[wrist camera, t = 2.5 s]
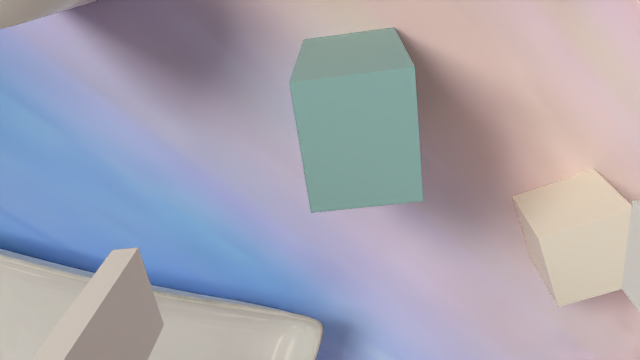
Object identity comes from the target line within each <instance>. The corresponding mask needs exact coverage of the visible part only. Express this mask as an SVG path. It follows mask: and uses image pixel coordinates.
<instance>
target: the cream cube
mask: <svg viewBox="0 0 640 360" xmlns="http://www.w3.org/2000/svg"><path fill="white" fill-rule="evenodd" d="M512 198H513V201H514V204H515V208H516V211H517V214H518V218H519V221H520V224H521V228H522V231H523V234H524V238H525V241H526V244H527V248H528V251H529V254H530V258H531V260H532V262H533V263H534V265H535V267H536V269H537V271H538V272H539V274H540V276H541V278H542V279H543V281H544V283H545V285H546V287H547V288H548V290H549V292H550V294H551V295H552V297H553V299H554V301H555V303H556V304H557V306H558V307H561V306H564V305H568V304H571V303H575V302H578V301H582V300H586V299H589V298H593V297H596V296H600V295H603V294H607V293H610V292H614V291H618V290H621V289H622V281H623V273H624V265H625V257H626V249H627V241H628V233H629V225H630V217H631V209H632V205H631V204H630V203H629V202H628V201H626V200H625V199H624V198H623V197H622V196H621V195H620V194H619V193H618V192H617V191H616V190H615V189H614V188H613V187H612V186H611V185H610V184H609V183H608V182H607V181H606V180H605V179H604V178H603V177H602V176H601V175H600V174H599V173H598V172H597V171H596V170H595V169H593V170H590V171H587V172H584V173H581V174H578V175H575V176H572V177H569V178H566V179H563V180H560V181H557V182H554V183H551V184H548V185H545V186H542V187H539V188H536V189H533V190H530V191H527V192H524V193H521V194H518V195H515V196H512Z"/></svg>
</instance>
